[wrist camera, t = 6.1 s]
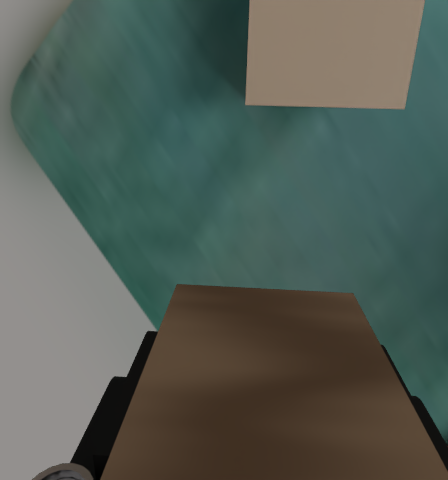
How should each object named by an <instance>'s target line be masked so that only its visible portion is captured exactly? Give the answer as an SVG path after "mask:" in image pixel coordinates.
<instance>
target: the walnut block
mask: <svg viewBox="0 0 448 480" xmlns="http://www.w3.org/2000/svg"><path fill="white" fill-rule="evenodd" d="M100 480H448V471H447V469H446V467H445V466H444V464H443V462H442V460H441V458H440V456H439V454H438V452H437V451H436V449H435V447H434V445H433V443H432V441H431V439H430V437H429V435H428V434H427V432H426V430H425V428H424V426H423V424H422V422H421V420H420V418H419V417H418V415H417V413H416V411H415V409H414V407H413V405H412V403H411V402H410V400H409V398H408V396H407V394H406V392H405V390H404V388H403V386H402V385H401V383H400V381H399V379H398V377H397V375H396V373H395V371H394V369H393V368H392V366H391V364H390V362H389V360H388V358H387V356H386V354H385V353H384V351H383V349H382V347H381V345H380V343H379V341H378V339H377V337H376V336H375V334H374V332H373V330H372V328H371V326H370V324H369V322H368V320H367V319H366V317H365V315H364V313H363V311H362V309H361V307H360V305H359V304H358V302H357V300H356V298H355V296H354V294H353V293H338V292H318V291H299V290H279V289H260V288H241V287H221V286H202V285H183V284H177V285H176V288H175V290H174V293H173V295H172V298H171V300H170V303H169V306H168V308H167V311H166V313H165V316H164V318H163V321H162V323H161V326H160V329H159V331H158V334H157V336H156V339H155V341H154V344H153V346H152V349H151V351H150V354H149V357H148V359H147V362H146V364H145V367H144V369H143V372H142V374H141V377H140V380H139V382H138V385H137V387H136V390H135V392H134V395H133V397H132V400H131V402H130V405H129V408H128V410H127V413H126V415H125V418H124V420H123V423H122V425H121V428H120V431H119V433H118V436H117V438H116V441H115V443H114V446H113V448H112V451H111V453H110V456H109V459H108V461H107V464H106V466H105V469H104V471H103V474H102V476H101V479H100Z"/></svg>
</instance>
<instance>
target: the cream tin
mask: <svg viewBox="0 0 448 480" xmlns="http://www.w3.org/2000/svg"><path fill="white" fill-rule="evenodd" d="M424 3H425V0H250V5H249V29H248V53H247V77H246V101H245V105H264V106H302V107H340V108H378V109H405V105H406V99H407V94H408V88H409V83H410V78H411V72H412V67H413V62H414V56H415V51H416V46H417V40H418V35H419V30H420V24H421V19H422V14H423V8H424Z"/></svg>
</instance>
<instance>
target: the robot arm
mask: <svg viewBox="0 0 448 480" xmlns="http://www.w3.org/2000/svg"><path fill="white" fill-rule="evenodd" d="M157 334H158V332H156V331H148V332H147V333H146V335H145V337H144V339H143V341H142V344H141V346H140V348H139V350H138V353H137V355H136V357H135V360H134V362H133V364H132V366H131V368H130V371H129V373H128V375H127V377H116V376H115V377H113V378H112V380H111V381H110V383H109V385H108V387H107V389H106V391H105V393H104V395H103V397H102V399H101V401H100V403H99V405H98V407H97V409H96V411H95V413H94V415H93V417H92V419H91V421H90V423H89V425H88V427H87V429H86V431H85V433H84V435H83V437H82V439H81V442H80V444H79V446H78V447H77V450H76V452H75V454H74V456H73V458H72V460H71V462H70V463H62V464H59V465H56V466H52V467H50V468H48V469H46V470H45V471H43V472H41V473H39V474H38V475H37V476H36V477H35V478H33V479H32V480H100V479H101V476H102V474H103V471H104V469H105V466H106V464H107V461H108V459H109V456H110V453H111V451H112V448H113V446H114V443H115V441H116V438H117V436H118V433H119V431H120V428H121V425H122V423H123V420H124V418H125V415H126V413H127V410H128V408H129V405H130V402H131V400H132V397H133V395H134V392H135V390H136V387H137V385H138V382H139V380H140V377H141V374H142V372H143V369H144V367H145V364H146V362H147V359H148V357H149V354H150V351H151V349H152V346H153V344H154V341H155V339H156V336H157ZM381 347H382V349H383V351H384V353H385V354H386V356H387V358H388V360H389V362H390V364H391V366H392V368H393V369H394V371H395V373H396V375H397V377H398V379H399V381H400V383H401V385H402V386H403V388H404V390H405V392H406V394H407V396H408V398H409V400H410V402H411V403H412V405H413V407H414V409H415V411H416V413H417V415H418V417H419V418H420V420H421V422H422V424H423V426H424V428H425V430H426V432H427V434H428V435H429V437H430V439H431V441H432V443H433V445H434V447H435V449H436V451H437V452H438V454H439V456H440V458H441V460H442V462H443V464H444V466H445V467H446V469H447V471H448V446H447V444H446V443H445V441H444V439H443V437H442V436H441V434H440V432H439V430H438V429H437V427H436V425H435V423H434V422H433V420H432V418H431V416H430V415H429V413H428V411H427V409H426V408H425V406H424V404H423V403H422V401H421V400H420V399H419V398H418V397H416V396H411V395H410V393H409V391H408V389H407V387H406V385H405V383H404V382H403V380H402V378H401V376H400V374H399V372H398V371H397V369H396V367H395V365H394V363H393V361H392V360H391V358H390V356H389V354H388V352H387V350H386V349H385V347H384V346H383V345H381Z"/></svg>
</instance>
